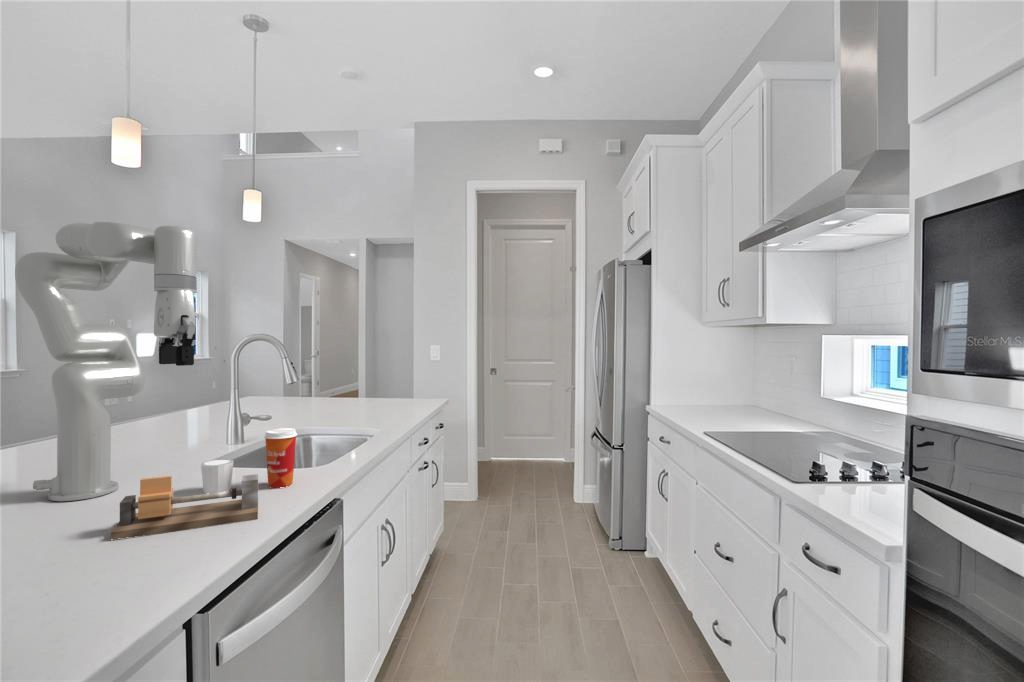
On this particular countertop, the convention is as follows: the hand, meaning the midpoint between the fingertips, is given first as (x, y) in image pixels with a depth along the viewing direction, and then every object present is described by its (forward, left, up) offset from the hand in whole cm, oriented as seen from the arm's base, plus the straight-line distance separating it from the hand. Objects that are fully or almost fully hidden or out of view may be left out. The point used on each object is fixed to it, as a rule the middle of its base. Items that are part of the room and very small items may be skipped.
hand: (176, 364), depth 102 cm
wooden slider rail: (+4, -7, -32) cm, 33 cm away
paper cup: (+21, +11, -32) cm, 40 cm away
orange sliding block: (-2, -7, -29) cm, 30 cm away
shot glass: (+7, +13, -32) cm, 35 cm away
